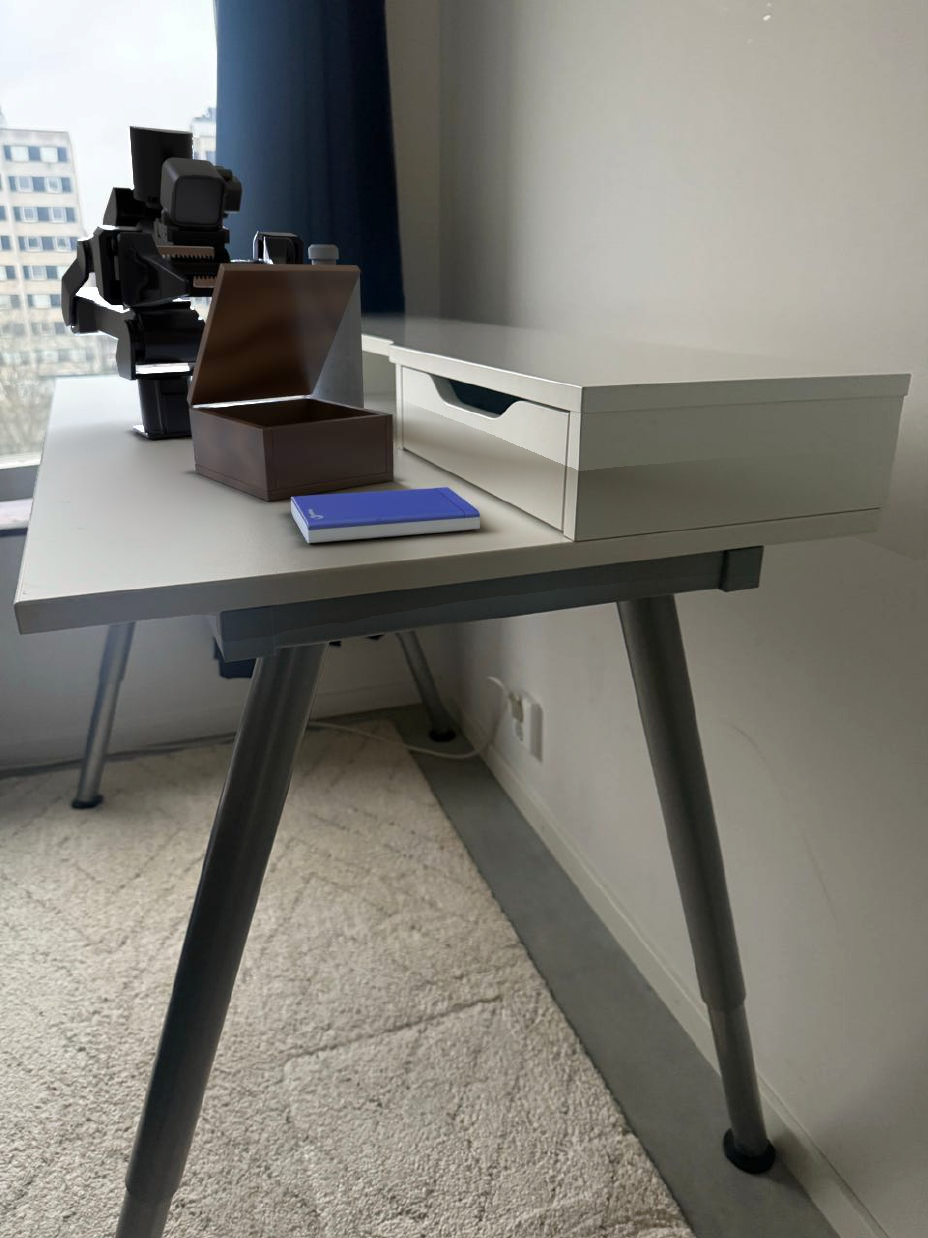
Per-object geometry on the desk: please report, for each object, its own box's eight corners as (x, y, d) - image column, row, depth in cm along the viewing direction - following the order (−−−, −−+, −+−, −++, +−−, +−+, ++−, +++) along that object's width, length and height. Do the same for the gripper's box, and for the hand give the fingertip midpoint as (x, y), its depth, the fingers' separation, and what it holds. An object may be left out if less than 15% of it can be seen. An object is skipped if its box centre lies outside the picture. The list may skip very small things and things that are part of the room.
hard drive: (307, 523, 58) (480, 510, 62) (290, 494, 65) (446, 484, 69) (308, 545, 59) (479, 531, 62) (291, 514, 66) (446, 503, 69)
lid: (361, 271, 73) (357, 264, 74) (224, 270, 66) (220, 262, 66) (312, 394, 84) (308, 388, 84) (189, 406, 76) (186, 399, 77)
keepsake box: (394, 479, 77) (393, 414, 75) (268, 501, 69) (262, 429, 67) (314, 455, 87) (311, 396, 84) (195, 472, 79) (188, 407, 77)
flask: (300, 408, 115) (291, 245, 107) (344, 406, 117) (337, 246, 109) (320, 427, 102) (310, 242, 94) (368, 424, 103) (362, 243, 96)
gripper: (65, 149, 74) (119, 173, 64) (268, 166, 84) (343, 189, 74) (78, 284, 80) (130, 327, 69) (267, 285, 90) (337, 322, 79)
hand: (240, 287), depth 73 cm, fingers open, 9 cm apart
